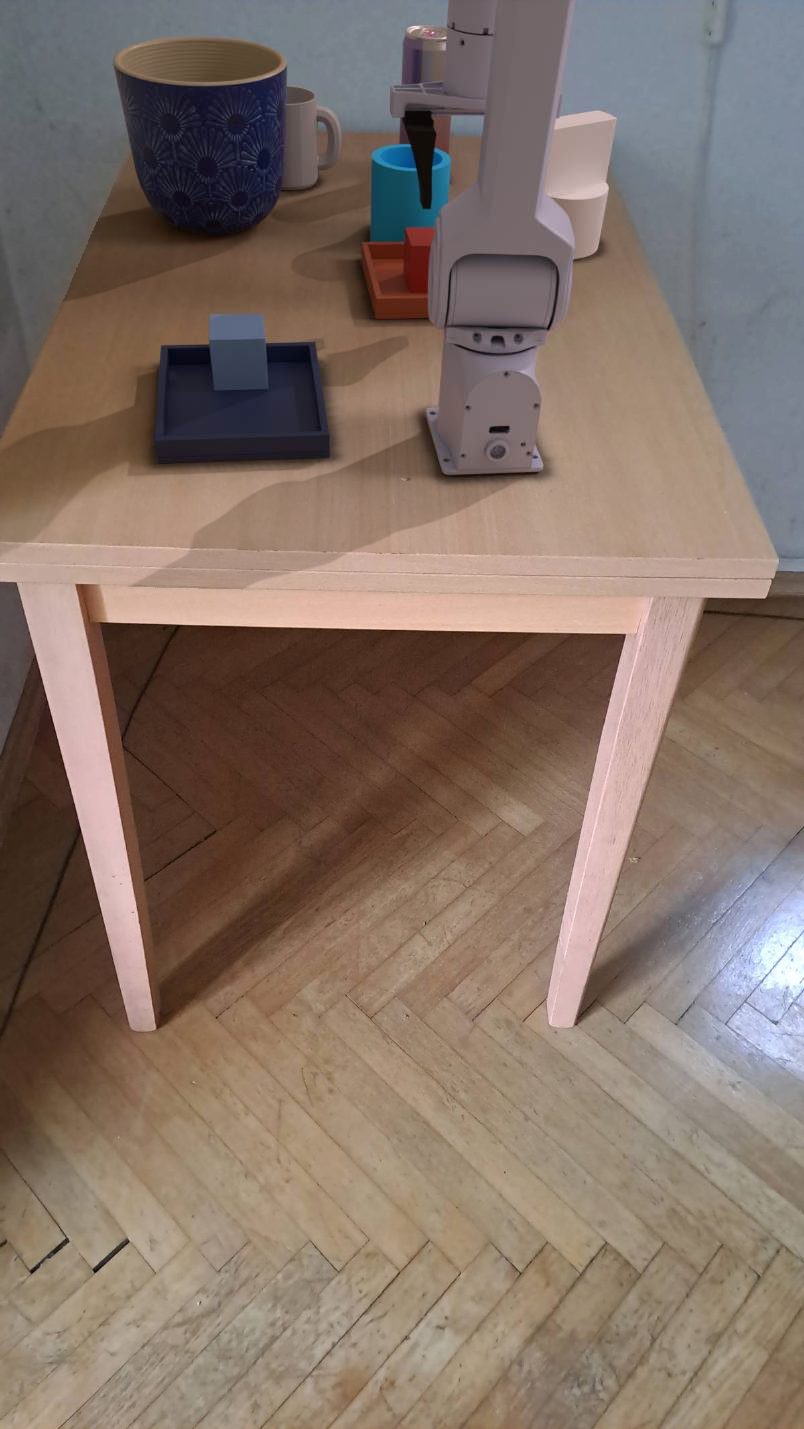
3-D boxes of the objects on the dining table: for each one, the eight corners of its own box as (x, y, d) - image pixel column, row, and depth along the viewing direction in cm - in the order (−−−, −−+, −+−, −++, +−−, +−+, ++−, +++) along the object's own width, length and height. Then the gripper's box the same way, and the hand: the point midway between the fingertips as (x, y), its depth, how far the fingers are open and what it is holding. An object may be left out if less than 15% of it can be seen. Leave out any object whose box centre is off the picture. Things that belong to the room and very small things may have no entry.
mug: (442, 257, 104) (448, 174, 98) (365, 251, 105) (367, 167, 99) (449, 215, 113) (455, 135, 107) (378, 209, 113) (380, 129, 107)
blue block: (268, 389, 83) (265, 338, 80) (214, 391, 83) (208, 339, 79) (266, 363, 86) (263, 313, 83) (214, 365, 86) (208, 314, 82)
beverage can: (391, 181, 119) (396, 34, 108) (406, 166, 123) (412, 22, 112) (439, 189, 118) (449, 40, 107) (452, 173, 122) (462, 28, 111)
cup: (259, 168, 120) (254, 84, 114) (341, 171, 121) (341, 87, 114) (255, 190, 115) (250, 103, 109) (341, 193, 116) (341, 106, 109)
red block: (454, 292, 98) (458, 245, 94) (409, 293, 97) (411, 245, 94) (446, 273, 101) (450, 226, 97) (402, 273, 100) (404, 227, 97)
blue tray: (329, 457, 77) (329, 434, 76) (157, 463, 76) (154, 440, 74) (315, 363, 88) (315, 341, 86) (163, 366, 86) (160, 344, 85)
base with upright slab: (563, 221, 113) (581, 101, 104) (615, 249, 108) (639, 127, 99) (499, 235, 109) (513, 112, 101) (550, 265, 104) (569, 139, 95)
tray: (501, 316, 95) (503, 296, 94) (375, 319, 94) (376, 298, 92) (476, 260, 104) (477, 240, 103) (361, 261, 103) (361, 241, 101)
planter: (299, 195, 115) (294, 40, 104) (285, 255, 103) (278, 87, 92) (152, 188, 114) (131, 31, 103) (122, 247, 103) (95, 78, 92)
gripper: (556, 16, 84) (534, 188, 94) (387, 13, 82) (382, 189, 92) (578, 37, 79) (552, 216, 89) (398, 35, 77) (392, 218, 87)
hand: (466, 204), depth 90 cm, fingers open, 7 cm apart
